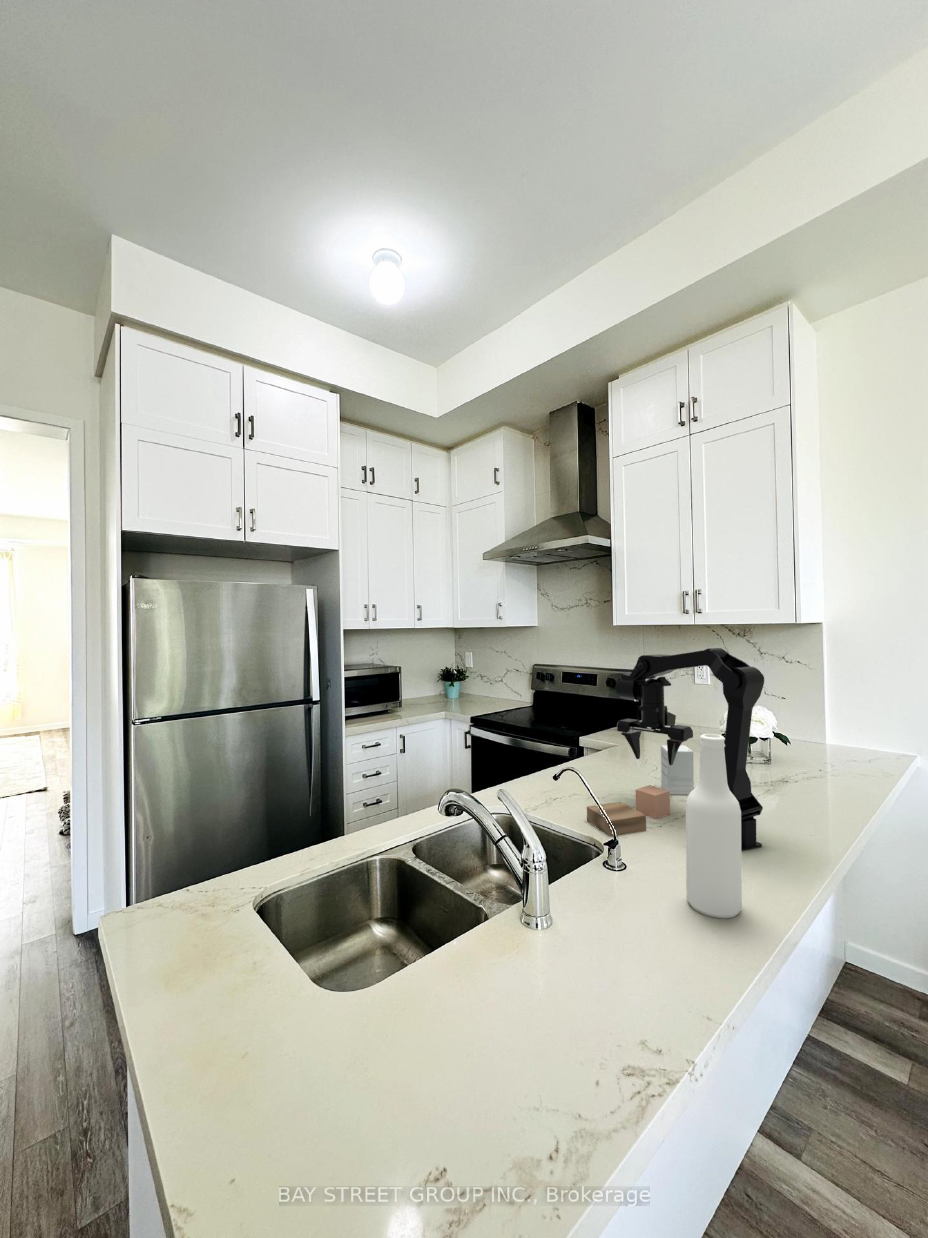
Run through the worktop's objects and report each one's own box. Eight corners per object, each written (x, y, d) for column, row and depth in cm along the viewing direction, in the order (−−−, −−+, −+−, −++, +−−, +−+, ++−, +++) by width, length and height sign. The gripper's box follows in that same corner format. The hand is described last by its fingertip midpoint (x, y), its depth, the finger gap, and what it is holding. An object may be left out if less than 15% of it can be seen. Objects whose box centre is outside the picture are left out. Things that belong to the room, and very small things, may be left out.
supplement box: (686, 787, 158) (685, 745, 158) (694, 795, 151) (694, 751, 151) (660, 786, 159) (660, 744, 159) (667, 795, 152) (667, 750, 152)
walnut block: (646, 832, 126) (645, 815, 126) (609, 838, 123) (609, 821, 123) (621, 817, 136) (621, 801, 136) (586, 822, 133) (586, 806, 133)
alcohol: (739, 926, 87) (738, 744, 87) (682, 911, 92) (681, 738, 92) (743, 901, 95) (742, 733, 95) (690, 888, 99) (689, 728, 99)
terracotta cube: (669, 814, 137) (669, 791, 137) (655, 819, 134) (655, 795, 134) (650, 807, 142) (649, 785, 142) (635, 812, 139) (635, 789, 139)
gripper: (701, 702, 138) (703, 762, 138) (636, 696, 152) (637, 751, 152) (681, 707, 130) (683, 771, 130) (615, 700, 144) (616, 758, 144)
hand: (654, 762), depth 139 cm, fingers open, 9 cm apart
